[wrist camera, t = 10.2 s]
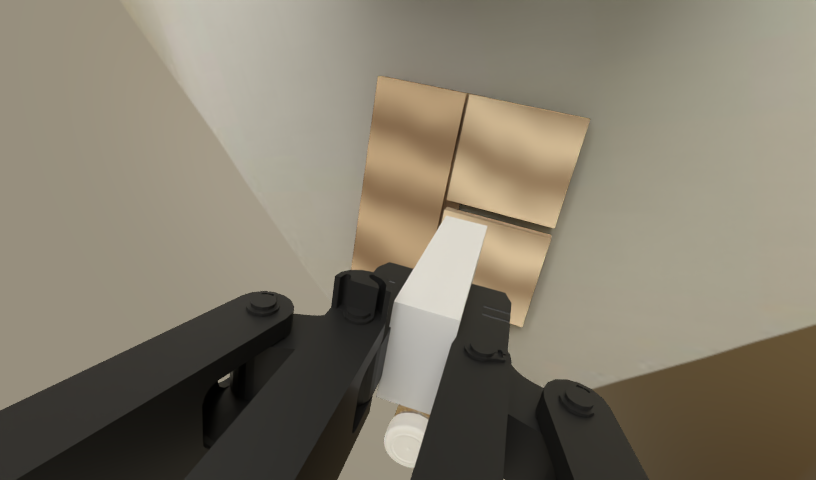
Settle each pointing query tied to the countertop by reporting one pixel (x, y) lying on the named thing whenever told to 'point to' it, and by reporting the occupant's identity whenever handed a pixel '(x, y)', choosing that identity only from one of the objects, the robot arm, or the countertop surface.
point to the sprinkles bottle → (405, 435)
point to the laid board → (407, 171)
